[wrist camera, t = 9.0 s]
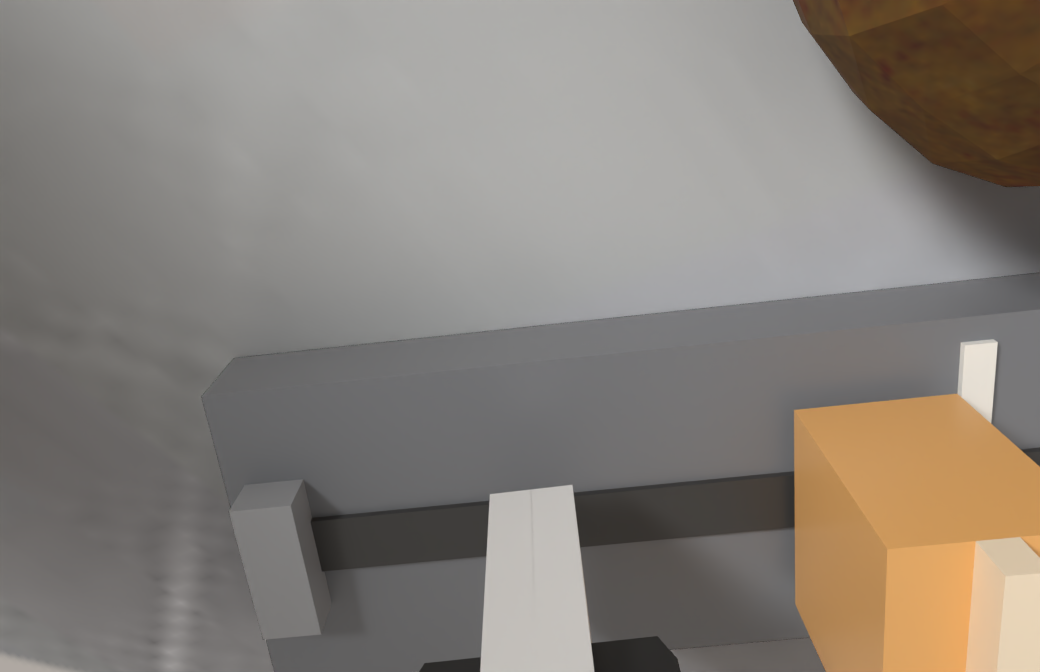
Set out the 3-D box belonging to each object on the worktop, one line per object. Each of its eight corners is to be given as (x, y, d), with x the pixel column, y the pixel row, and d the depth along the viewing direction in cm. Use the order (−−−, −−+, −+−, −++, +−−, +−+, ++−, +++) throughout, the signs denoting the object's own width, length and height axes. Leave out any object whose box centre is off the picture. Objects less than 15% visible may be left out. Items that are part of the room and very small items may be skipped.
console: (299, 624, 21) (264, 718, 18) (234, 357, 19) (181, 419, 16) (1147, 547, 20) (1247, 634, 17) (1193, 256, 18) (1319, 302, 15)
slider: (795, 603, 18) (899, 834, 13) (794, 409, 16) (910, 585, 11) (944, 590, 18) (1108, 817, 13) (956, 393, 16) (1149, 563, 11)
